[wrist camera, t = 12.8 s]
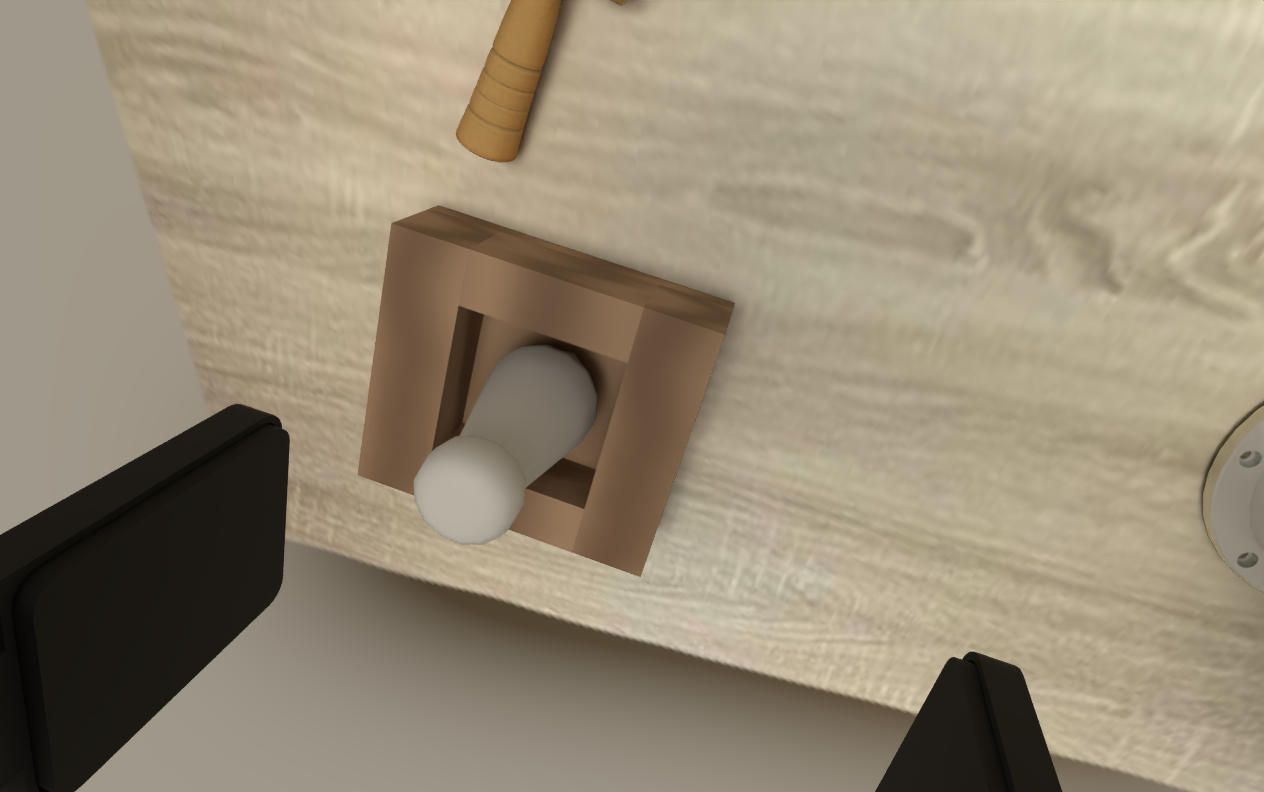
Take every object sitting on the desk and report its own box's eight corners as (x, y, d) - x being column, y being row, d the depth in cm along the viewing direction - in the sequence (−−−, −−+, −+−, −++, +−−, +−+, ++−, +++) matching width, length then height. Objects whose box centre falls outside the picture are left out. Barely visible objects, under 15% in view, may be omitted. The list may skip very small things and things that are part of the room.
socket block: (734, 303, 39) (725, 334, 34) (656, 525, 45) (640, 576, 40) (438, 205, 40) (391, 223, 35) (401, 434, 46) (357, 474, 41)
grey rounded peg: (573, 451, 43) (486, 596, 31) (486, 393, 42) (364, 519, 31) (627, 371, 40) (555, 496, 28) (535, 309, 40) (423, 411, 28)
